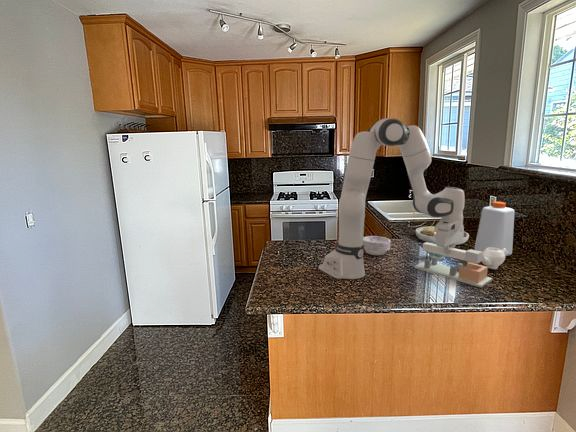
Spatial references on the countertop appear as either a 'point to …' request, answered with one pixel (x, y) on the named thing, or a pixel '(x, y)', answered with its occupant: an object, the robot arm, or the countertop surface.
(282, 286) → the countertop surface
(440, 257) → the pill bottle
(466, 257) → the white long bar
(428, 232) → the bowl
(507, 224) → the plastic bottle
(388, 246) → the paper bowls
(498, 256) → the teapot
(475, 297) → the countertop surface
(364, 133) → the robot arm
